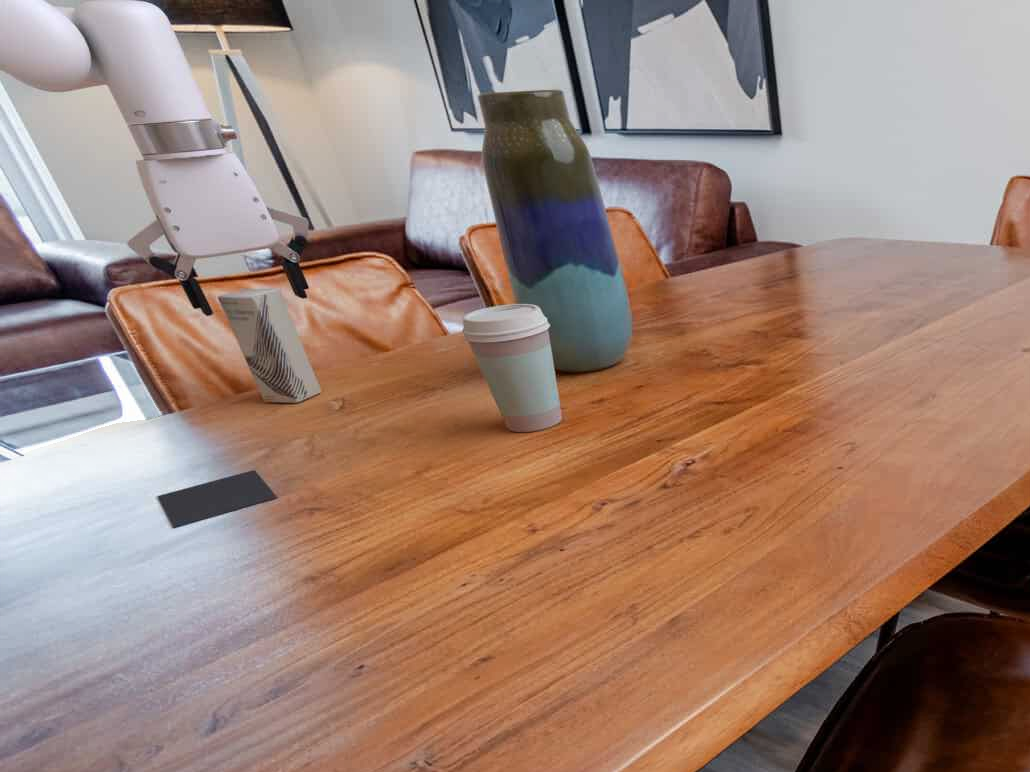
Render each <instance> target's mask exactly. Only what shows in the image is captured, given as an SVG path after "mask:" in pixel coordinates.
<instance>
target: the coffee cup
mask: <svg viewBox="0 0 1030 772" xmlns="http://www.w3.org/2000/svg"><path fill="white" fill-rule="evenodd" d="M547 321H548V320H547V318H546V317H545V316H544V315H543V313H542V311H541V309H540V308H539V307H538V306H536V305H532V304H515V303H511V304H503V305H502V304H501V305H496V306H489V307H485V308H480V309H477V310H474V311H471V312H468V313H466V314H464V315H463V317H462V322H463V323H462V325H463V326H462V327H463V328H462V331H461V332H462V334H463V336H462V338H463V339H464V340H465V341H467V342H468V344H469V346H470V349H471V351H472V353H473V356H474V357H475V360H476V362H477V364H478V367H479V369H480V371H481V373H482V376H483V378H484V380H485V382H486V384H487V387H488V389H489V391H490V393H491V395H492V398H493V400H494V402H495V405H496V407H497V409H498V410H499V413H500V415H501V418H502V420H503V422H504V424H505V426H506V428H507V430H509V431H511V432H514V433H531V432H538V431H542V430H546V429H550V428H552V427H554V426H556V425H558V424H559V423H560V422H561V421H562V420H563V415H562V409H561V403H560V395H559V389H558V383H557V377H556V371H555V370H556V369H554V363H553V357H552V351H551V344H550V338H549V332H548V328H549V327H550V324H549V323H548V322H547Z"/></svg>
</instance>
